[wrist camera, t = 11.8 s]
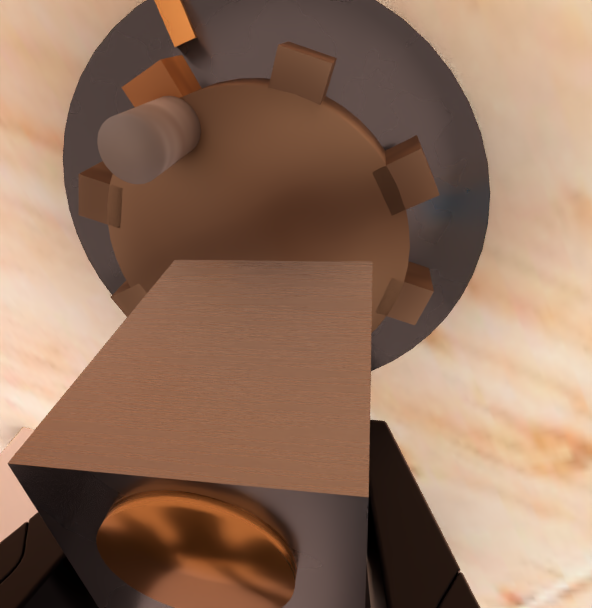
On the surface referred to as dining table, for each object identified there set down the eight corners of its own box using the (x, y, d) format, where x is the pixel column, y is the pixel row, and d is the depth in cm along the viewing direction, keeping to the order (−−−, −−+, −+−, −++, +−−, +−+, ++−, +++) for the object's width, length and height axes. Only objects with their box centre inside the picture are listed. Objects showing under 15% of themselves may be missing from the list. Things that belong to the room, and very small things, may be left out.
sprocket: (483, 305, 20) (514, 389, 16) (221, 390, 26) (188, 470, 21) (341, -58, 14) (325, -91, 10) (36, 157, 20) (-65, 200, 15)
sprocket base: (294, 430, 28) (293, 435, 27) (10, 234, 23) (4, 237, 22) (590, 218, 18) (594, 221, 18) (208, -196, 13) (204, -202, 13)
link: (366, 489, 12) (360, 747, 8) (226, 476, 13) (150, 709, 9) (372, 261, 8) (368, 515, 4) (174, 260, 9) (-6, 479, 5)
